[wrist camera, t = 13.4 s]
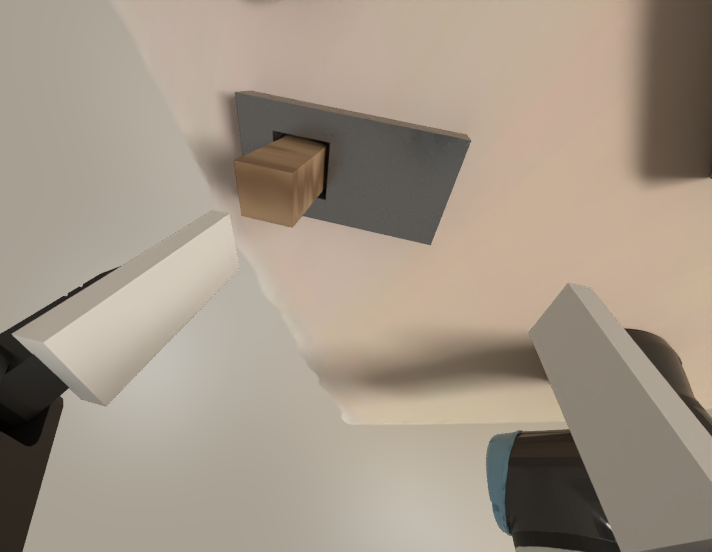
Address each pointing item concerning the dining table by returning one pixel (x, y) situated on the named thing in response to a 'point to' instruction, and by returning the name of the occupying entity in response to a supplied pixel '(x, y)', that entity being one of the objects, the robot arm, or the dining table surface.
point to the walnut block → (282, 179)
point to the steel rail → (365, 163)
